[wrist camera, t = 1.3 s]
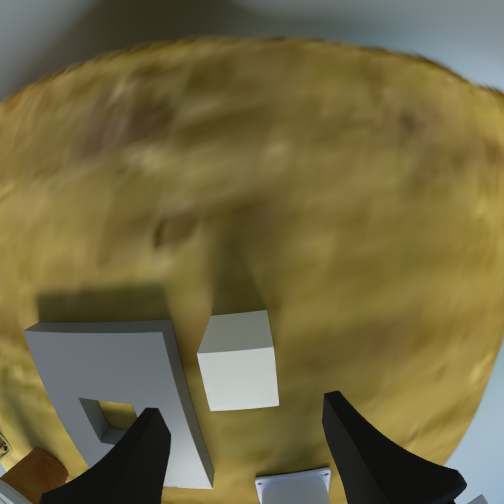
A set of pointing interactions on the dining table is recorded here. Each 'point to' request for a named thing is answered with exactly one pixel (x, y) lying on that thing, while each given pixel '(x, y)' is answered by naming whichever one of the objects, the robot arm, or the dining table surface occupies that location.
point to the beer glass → (4, 448)
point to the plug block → (238, 362)
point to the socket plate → (120, 387)
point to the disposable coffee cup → (32, 478)
